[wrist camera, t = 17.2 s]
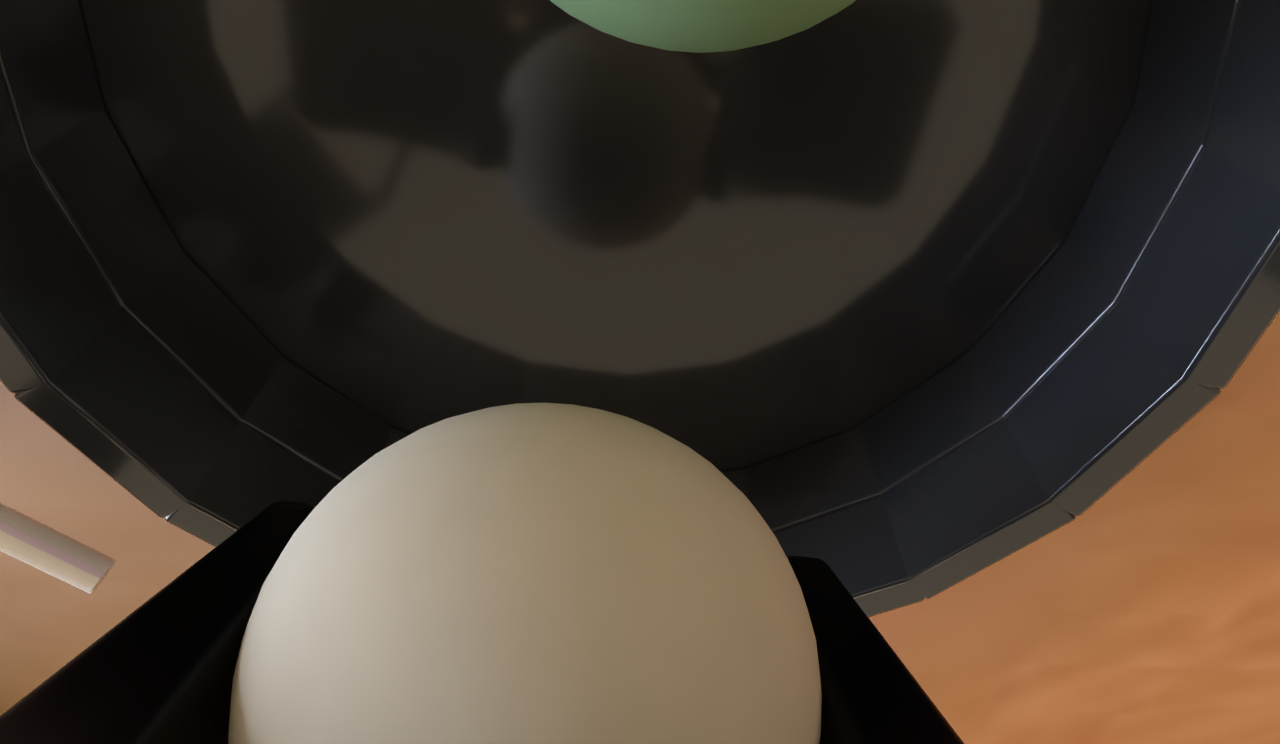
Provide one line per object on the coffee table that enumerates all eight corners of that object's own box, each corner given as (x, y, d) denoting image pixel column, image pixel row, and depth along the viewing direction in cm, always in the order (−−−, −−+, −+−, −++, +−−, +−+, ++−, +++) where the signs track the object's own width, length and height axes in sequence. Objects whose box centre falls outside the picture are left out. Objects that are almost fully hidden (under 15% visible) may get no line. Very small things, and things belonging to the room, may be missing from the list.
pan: (937, 521, 17) (1008, 699, 13) (168, 434, 15) (40, 605, 12) (1498, -579, 8) (2098, -839, 5) (-184, -970, 7) (-964, -1682, 3)
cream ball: (731, 641, 11) (777, 1140, 7) (355, 603, 11) (171, 1106, 7) (835, 334, 8) (1016, 879, 4) (325, 268, 8) (-36, 792, 4)
